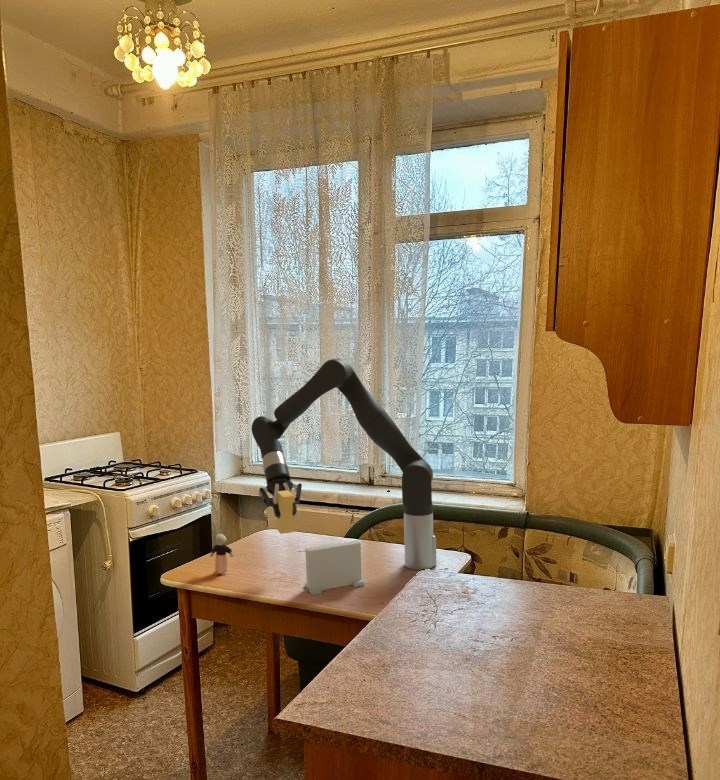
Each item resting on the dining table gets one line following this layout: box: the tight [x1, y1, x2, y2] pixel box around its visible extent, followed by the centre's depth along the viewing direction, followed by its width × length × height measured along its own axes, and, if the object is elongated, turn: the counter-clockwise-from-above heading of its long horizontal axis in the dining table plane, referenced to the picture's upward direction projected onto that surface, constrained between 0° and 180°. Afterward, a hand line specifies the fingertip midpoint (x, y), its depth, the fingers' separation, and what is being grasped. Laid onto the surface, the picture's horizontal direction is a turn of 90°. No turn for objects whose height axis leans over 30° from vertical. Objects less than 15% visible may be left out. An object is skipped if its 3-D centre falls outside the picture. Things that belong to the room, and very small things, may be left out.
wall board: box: [304, 540, 365, 596], centre depth 164 cm, size 16×7×12 cm, turn 112°
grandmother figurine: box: [209, 533, 235, 576], centre depth 175 cm, size 8×4×13 cm, turn 92°
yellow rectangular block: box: [276, 490, 296, 535], centre depth 168 cm, size 4×8×12 cm, turn 21°
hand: (286, 515), depth 169 cm, fingers closed on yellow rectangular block, 4 cm apart
